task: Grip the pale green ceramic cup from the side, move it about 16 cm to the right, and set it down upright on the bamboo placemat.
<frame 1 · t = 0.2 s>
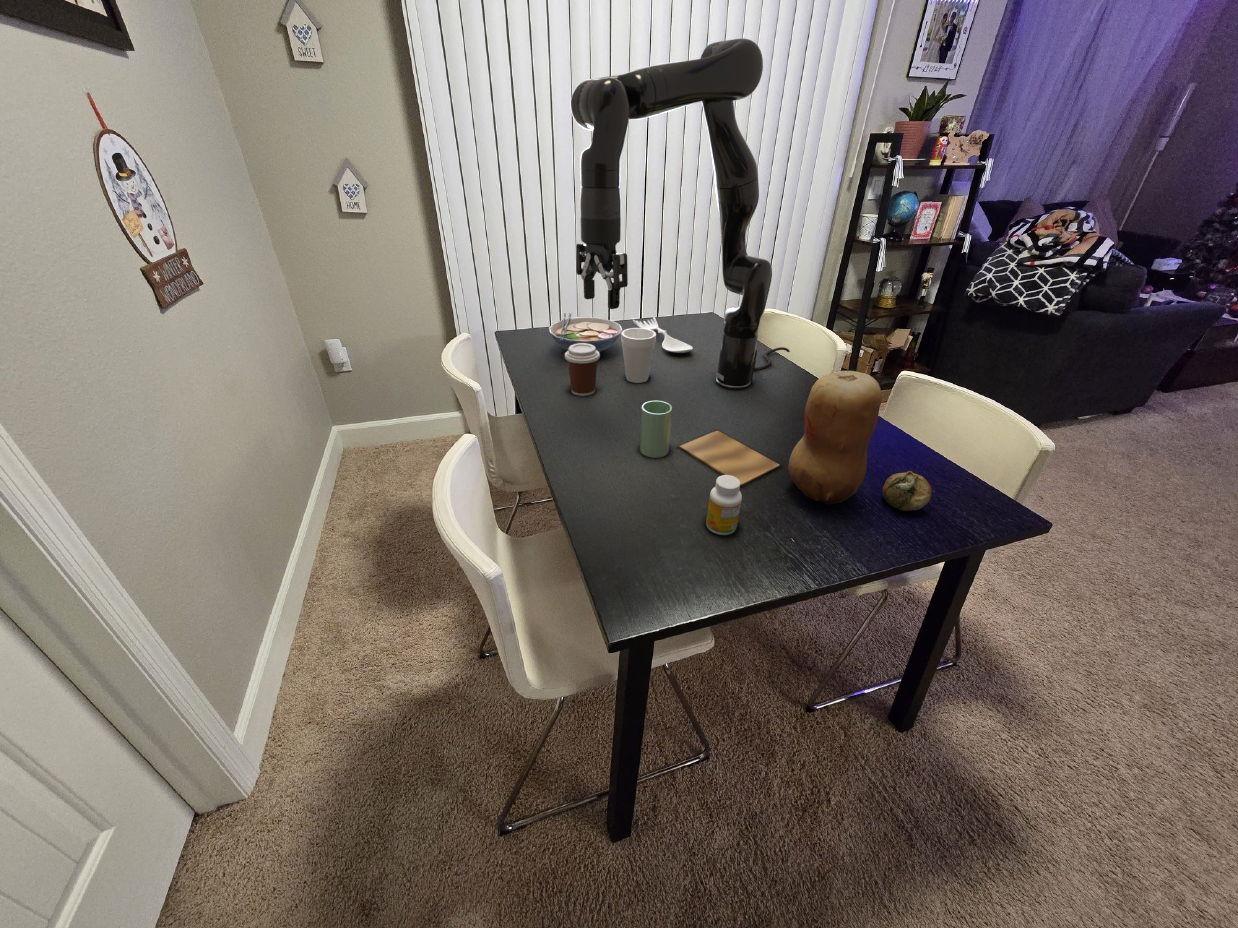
hand: (601, 303, 101), 29 cm above the table, tool pointing down, fingers open, 8 cm apart
cup: (654, 450, 110), on the table
butternut squash: (819, 496, 97), on the table
ramen bowl: (586, 351, 160), on the table
placemat: (728, 457, 108), on the table
foam cup: (637, 378, 142), on the table
onion: (900, 506, 95), on the table
supplement bottle: (720, 526, 89), on the table
spoon: (662, 341, 168), on the table
coffee cup: (583, 391, 135), on the table
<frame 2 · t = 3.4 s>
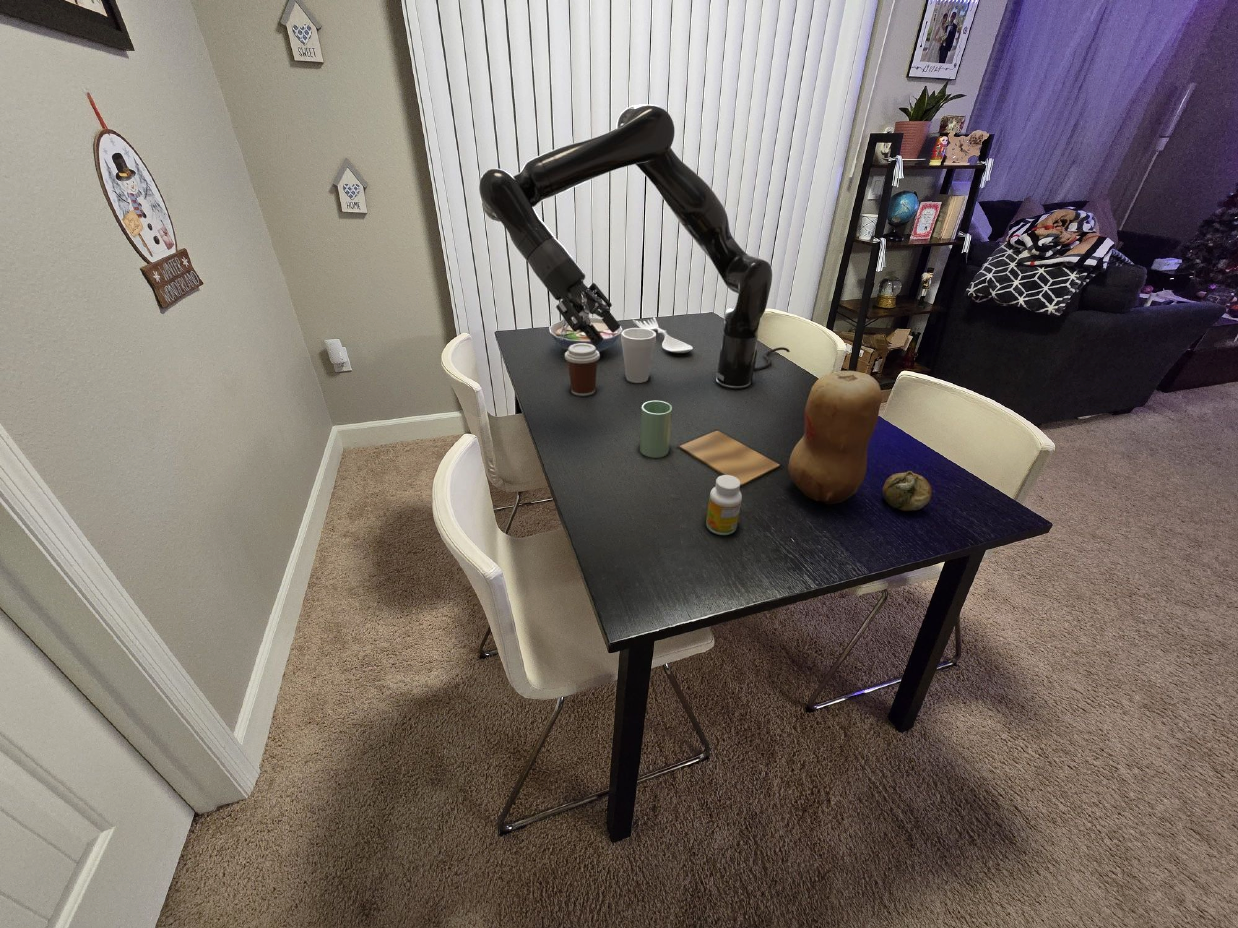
hand: (608, 336, 100), 24 cm above the table, tool tilted 45°, fingers open, 8 cm apart
nothing on the table moved.
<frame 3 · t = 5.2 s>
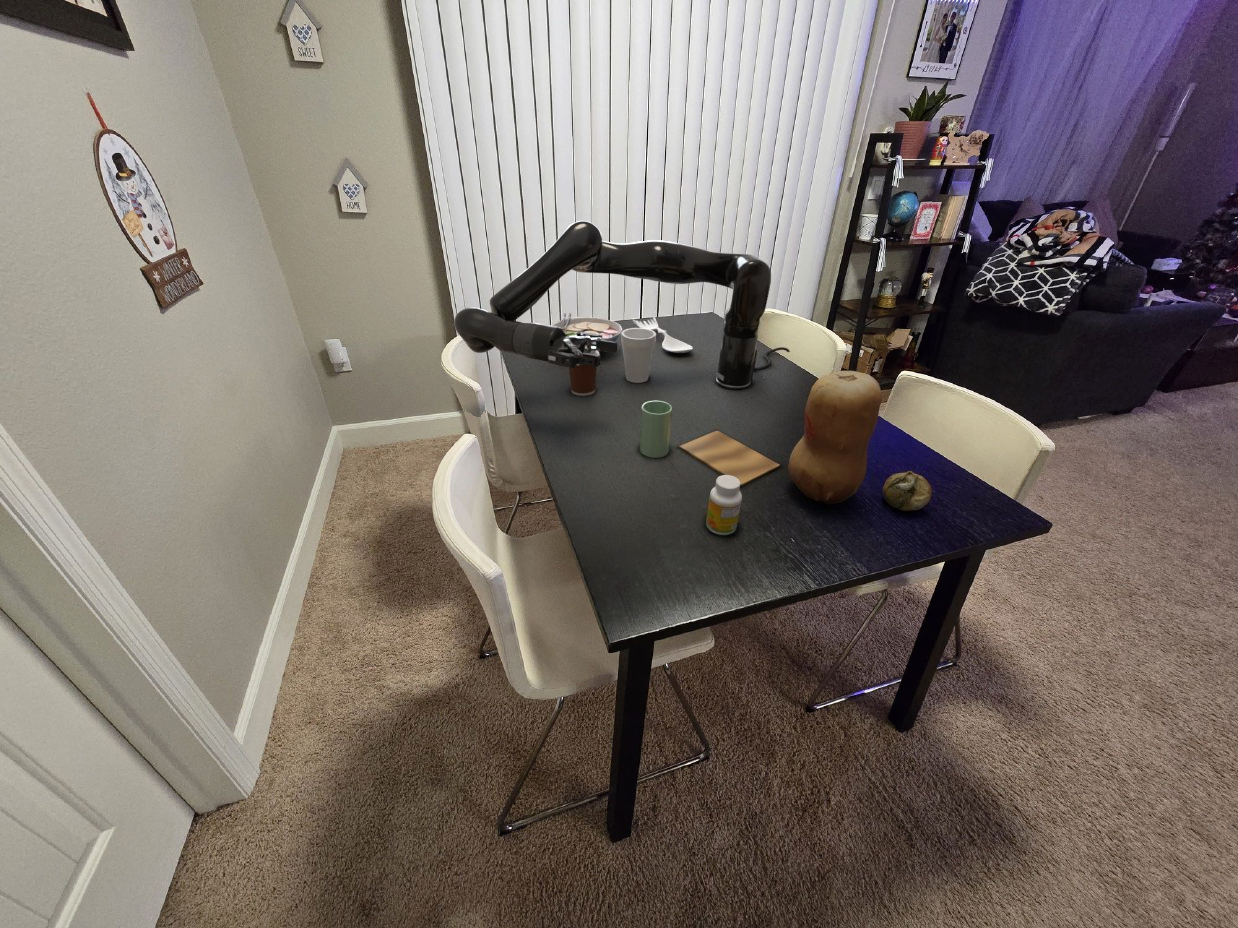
hand: (608, 354, 102), 20 cm above the table, tool horizontal, fingers open, 8 cm apart
nothing on the table moved.
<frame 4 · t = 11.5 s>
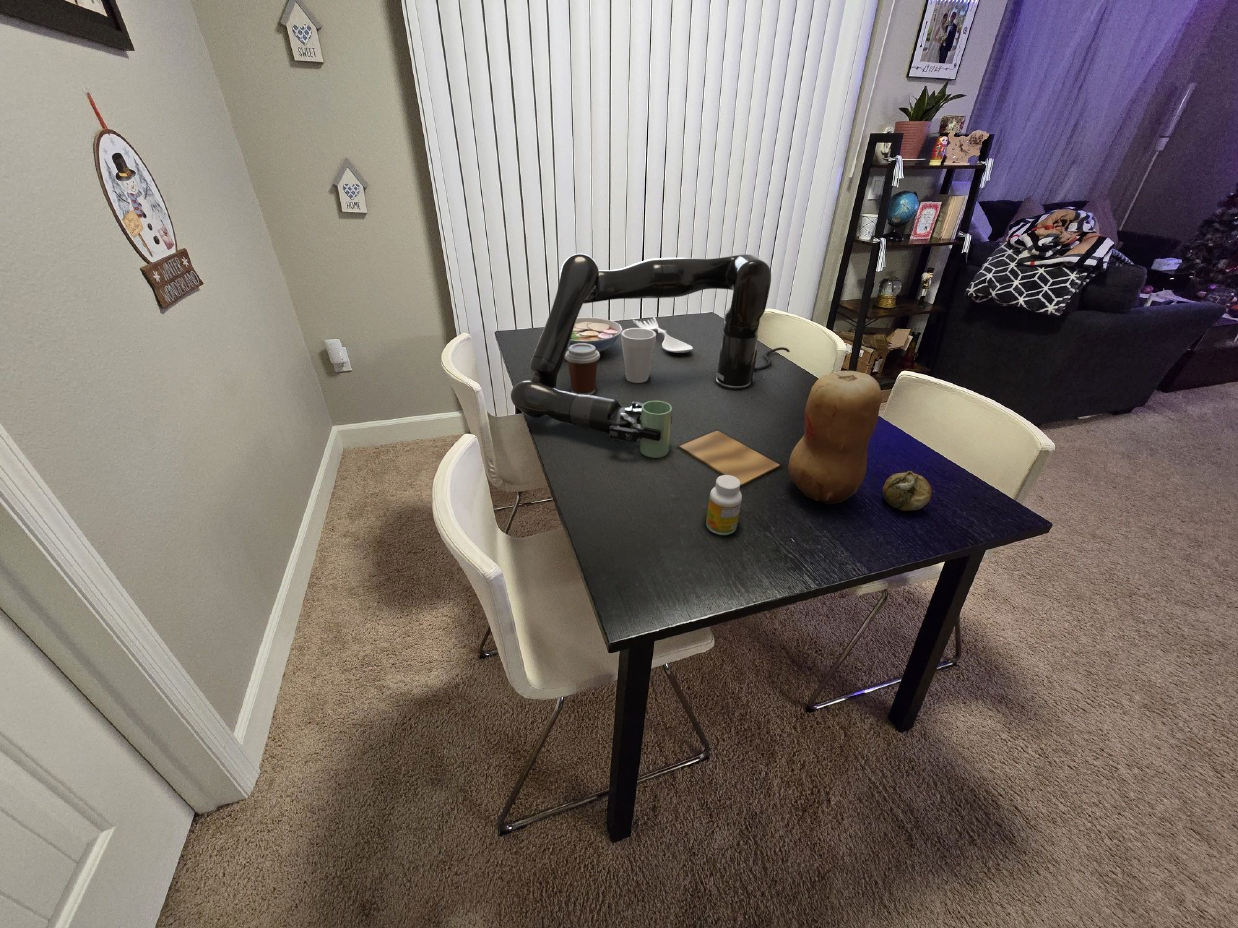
hand: (666, 428, 106), 6 cm above the table, tool horizontal, fingers closed on cup, 6 cm apart
cup: (654, 450, 110), on the table, touching gripper
everything else where it was.
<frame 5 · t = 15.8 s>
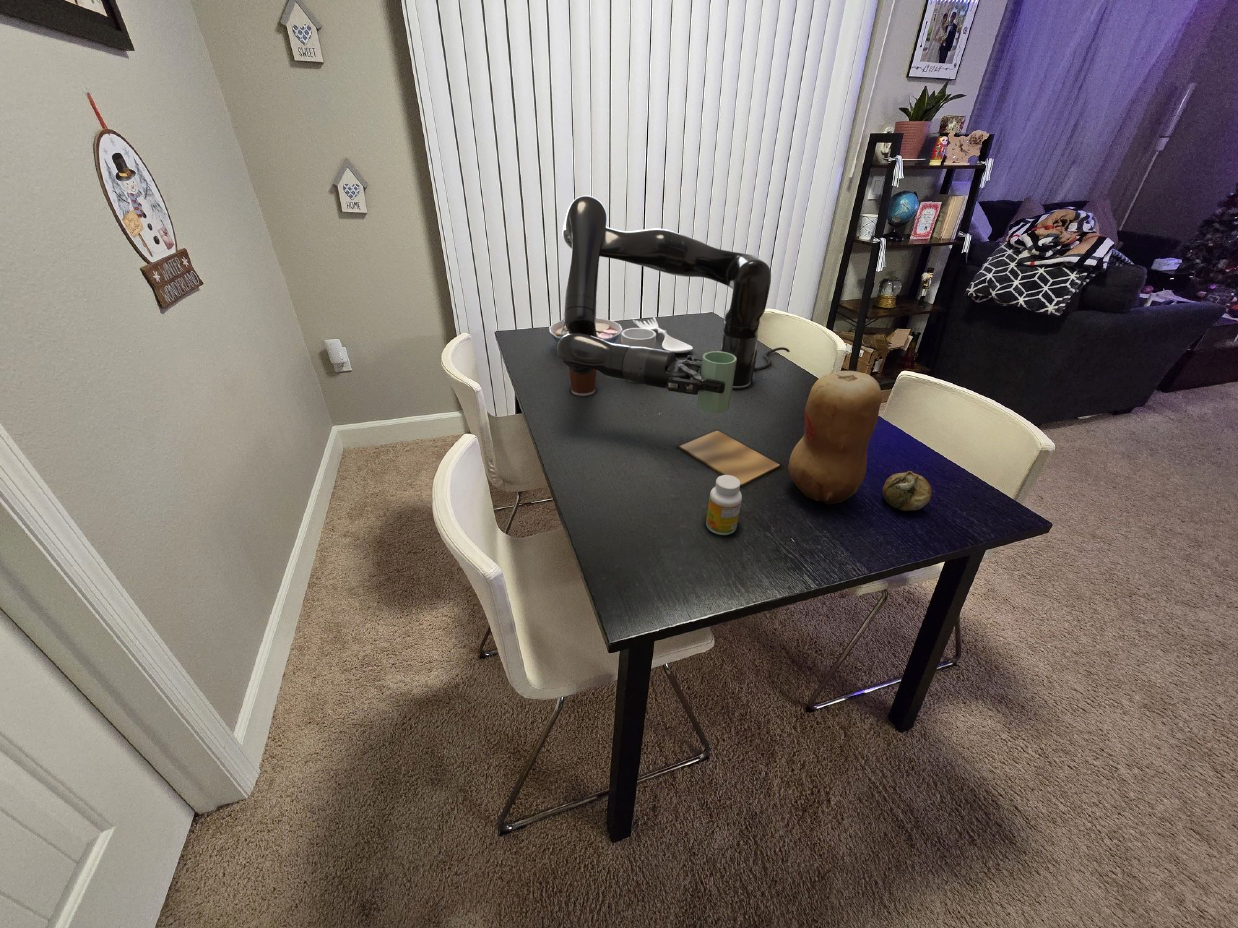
hand: (728, 381, 98), 18 cm above the table, tool horizontal, fingers closed on cup, 6 cm apart
cup: (713, 406, 102), point 12 cm above the table, touching gripper
everything else where it was.
when the fingers open (6 cm above the table, at t = 20.1 s): cup stays where it is, resting on placemat.
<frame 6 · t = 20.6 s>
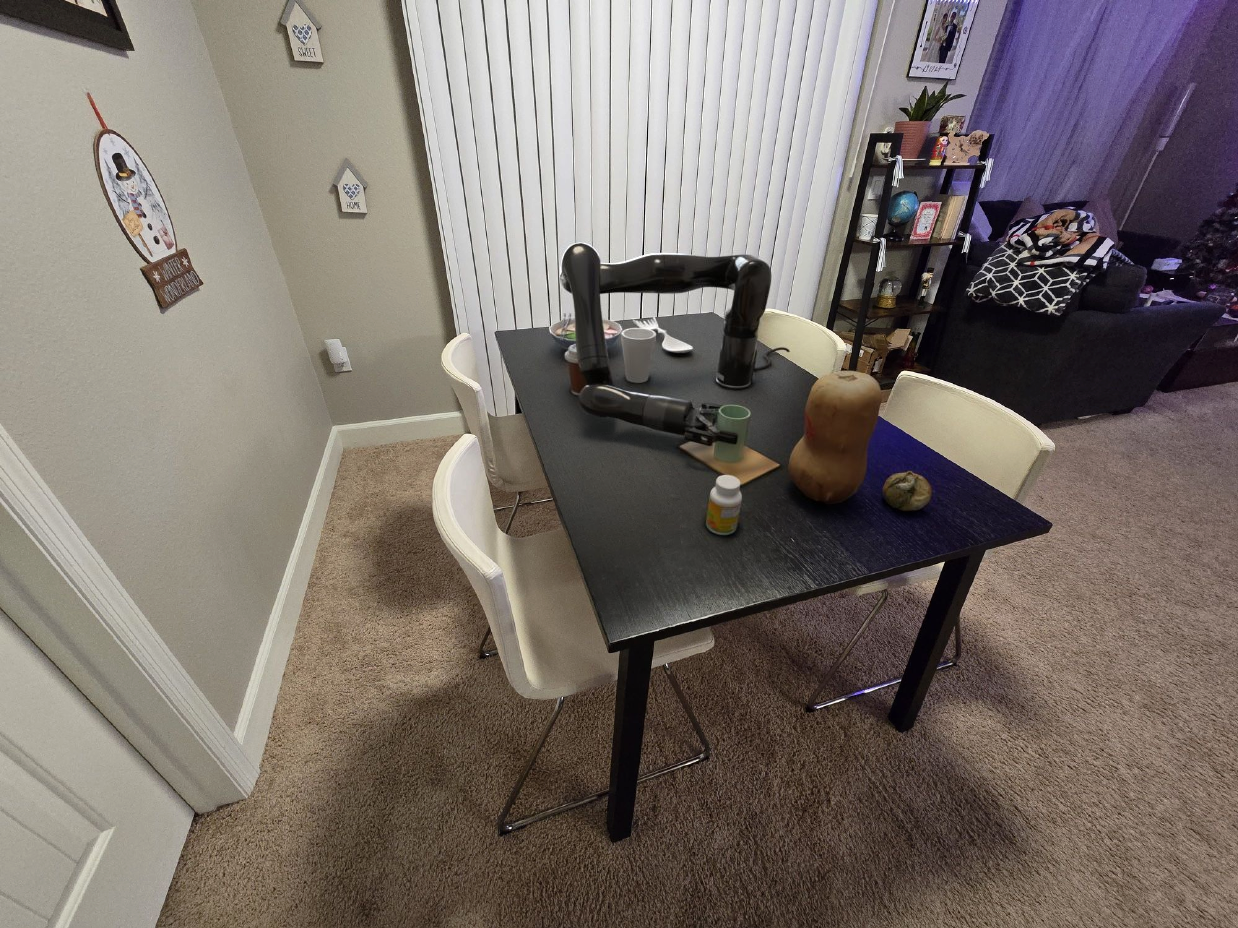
hand: (742, 429, 104), 7 cm above the table, tool horizontal, fingers open, 8 cm apart
cup: (727, 455, 108), resting on placemat
everything else where it was.
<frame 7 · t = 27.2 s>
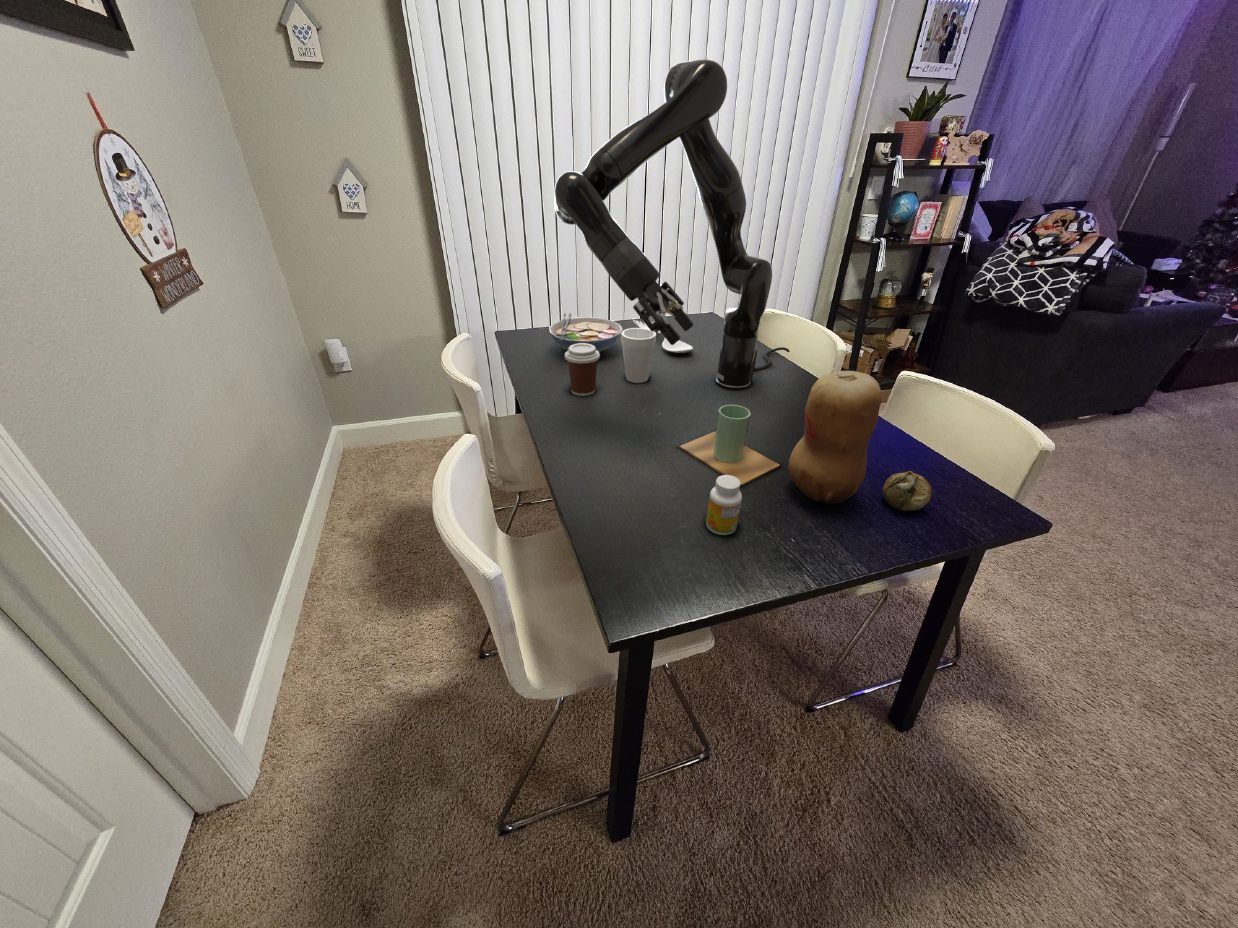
hand: (683, 334, 99), 25 cm above the table, tool tilted 45°, fingers open, 8 cm apart
nothing on the table moved.
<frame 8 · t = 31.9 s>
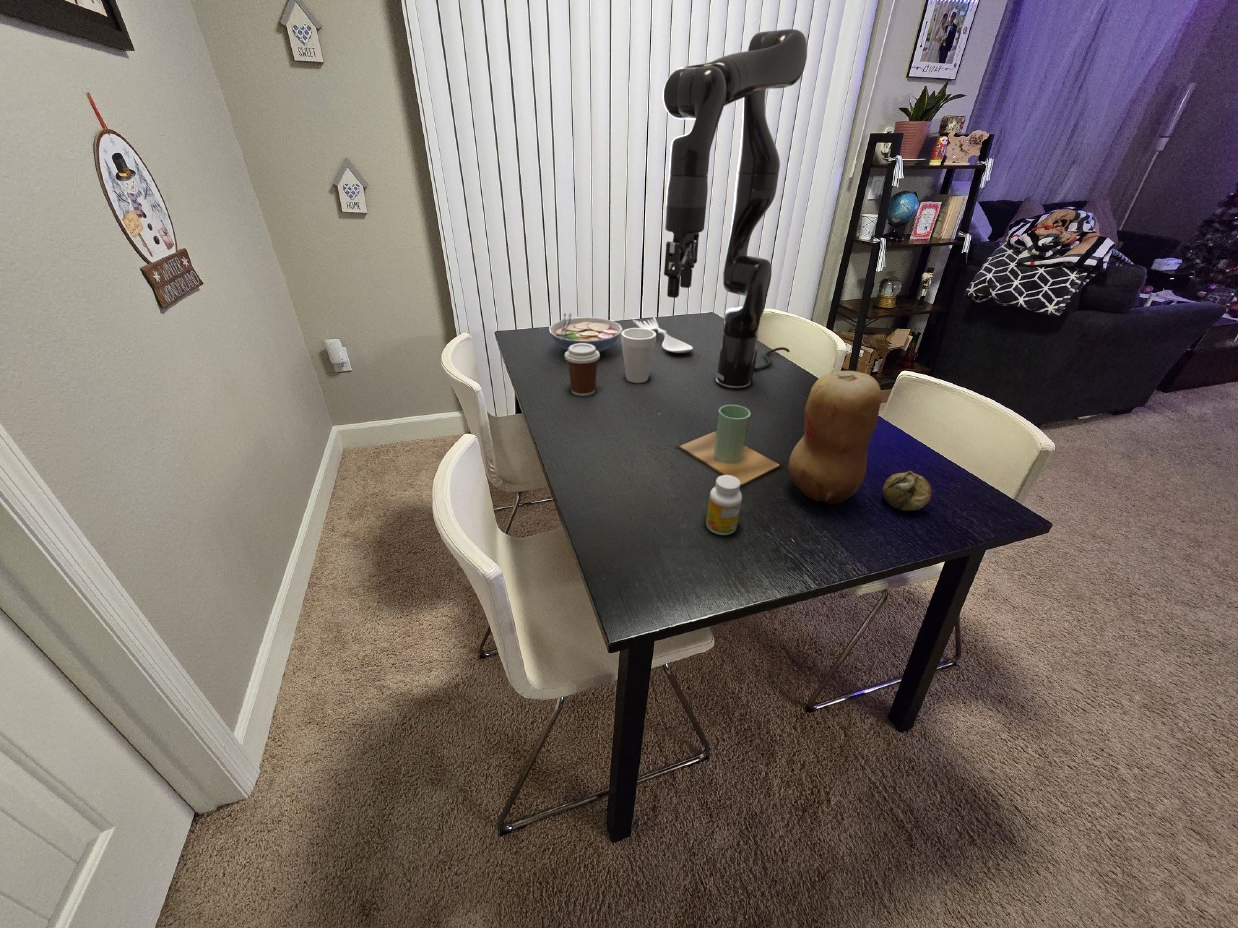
hand: (679, 292, 102), 31 cm above the table, tool pointing down, fingers open, 8 cm apart
nothing on the table moved.
at the end: cup inside the target area on the placemat (0.1 cm from its centre), point 0.5 cm above the placemat's base; cup tilted 0°; the gripper is holding nothing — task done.
